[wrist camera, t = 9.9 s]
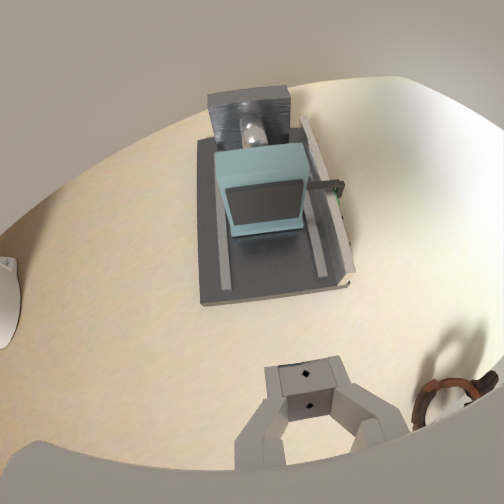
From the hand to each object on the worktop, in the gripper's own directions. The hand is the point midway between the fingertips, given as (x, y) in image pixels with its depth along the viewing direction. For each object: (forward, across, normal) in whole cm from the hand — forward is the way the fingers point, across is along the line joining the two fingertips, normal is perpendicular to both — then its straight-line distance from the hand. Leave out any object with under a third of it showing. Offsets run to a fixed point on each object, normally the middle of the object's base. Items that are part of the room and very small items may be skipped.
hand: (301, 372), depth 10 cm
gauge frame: (+27, -1, -1) cm, 27 cm away
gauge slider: (+24, -3, 0) cm, 24 cm away
